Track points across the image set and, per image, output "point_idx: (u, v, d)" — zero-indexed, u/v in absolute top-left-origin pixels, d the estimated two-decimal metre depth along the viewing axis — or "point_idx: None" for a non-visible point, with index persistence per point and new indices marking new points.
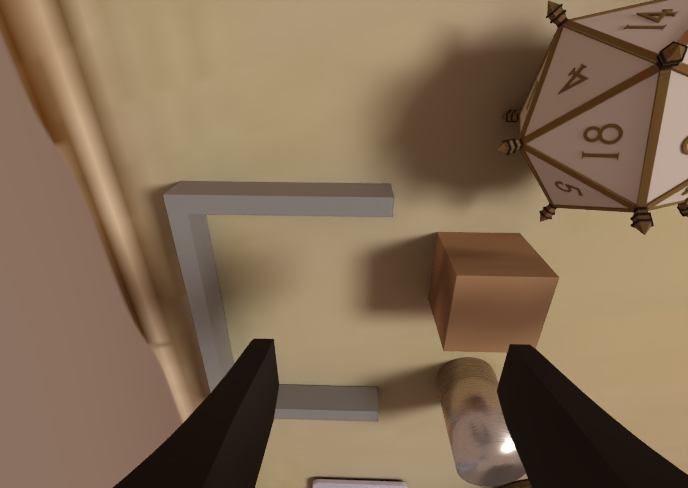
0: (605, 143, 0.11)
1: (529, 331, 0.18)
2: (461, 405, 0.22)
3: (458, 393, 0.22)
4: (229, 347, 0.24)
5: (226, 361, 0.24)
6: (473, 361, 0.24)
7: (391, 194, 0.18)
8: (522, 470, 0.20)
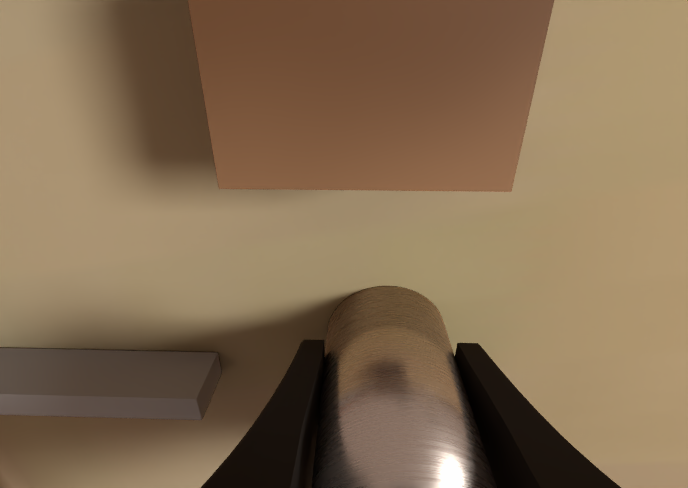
0: None
1: (491, 94, 0.05)
2: (344, 380, 0.09)
3: (346, 354, 0.10)
4: None
5: None
6: (395, 292, 0.11)
7: None
8: None
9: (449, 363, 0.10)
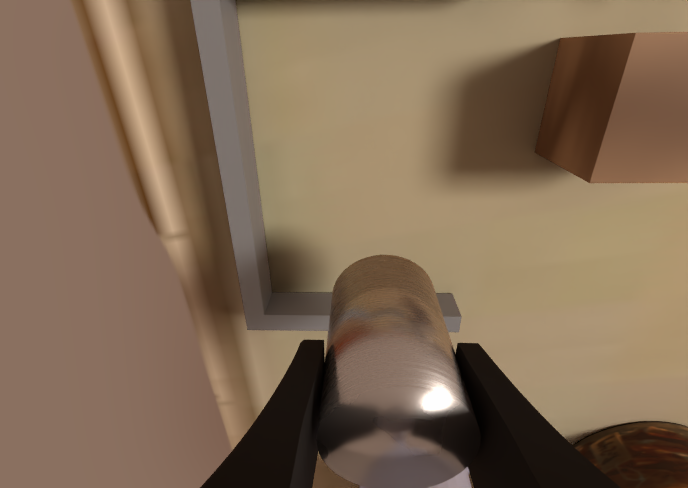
0: None
1: None
2: (343, 328, 0.11)
3: (345, 310, 0.11)
4: (264, 236, 0.19)
5: (261, 251, 0.18)
6: (386, 259, 0.13)
7: None
8: (465, 452, 0.09)
9: (432, 311, 0.11)
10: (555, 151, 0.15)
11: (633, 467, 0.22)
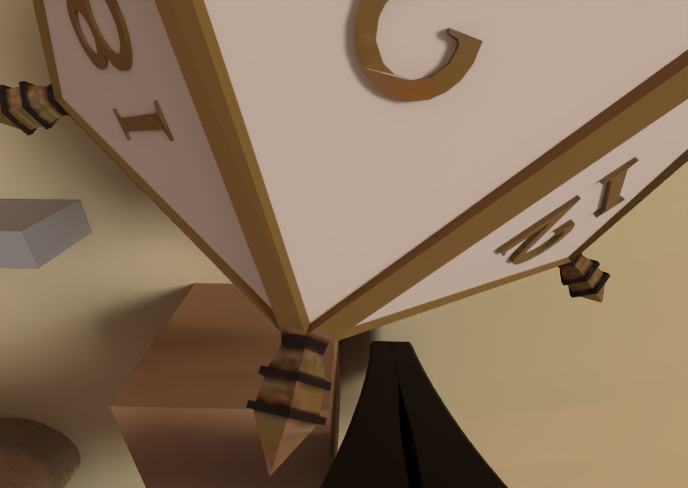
0: (124, 66, 0.03)
1: None
2: None
3: None
4: None
5: None
6: (5, 425, 0.14)
7: (31, 223, 0.09)
8: None
9: None
10: None
11: None
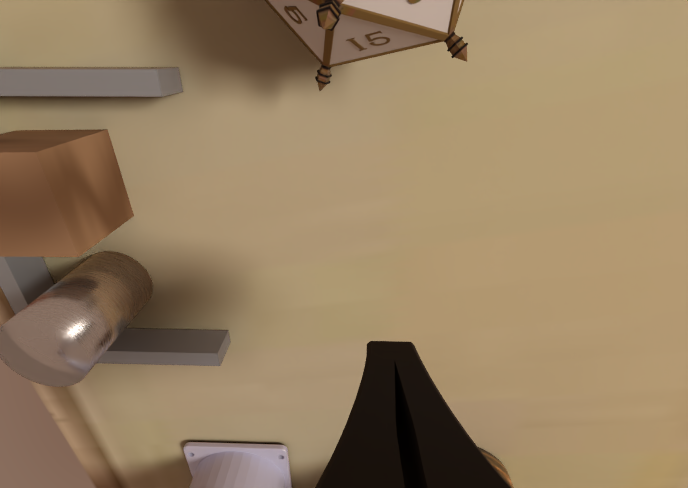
0: None
1: (54, 227, 0.15)
2: None
3: None
4: (50, 281, 0.22)
5: None
6: (105, 254, 0.20)
7: (159, 68, 0.15)
8: (80, 359, 0.16)
9: (104, 285, 0.19)
10: None
11: None
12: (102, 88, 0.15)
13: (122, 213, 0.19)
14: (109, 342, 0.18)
